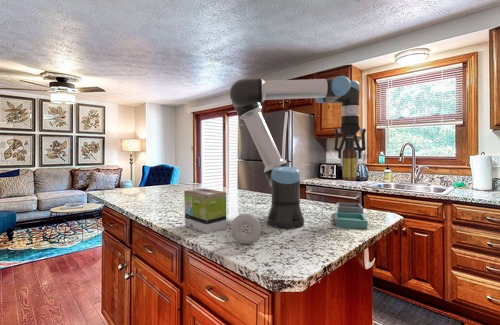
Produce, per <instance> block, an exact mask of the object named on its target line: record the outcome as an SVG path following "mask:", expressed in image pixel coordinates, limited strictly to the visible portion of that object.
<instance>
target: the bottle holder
mask: <svg viewBox="0 0 500 325" xmlns="http://www.w3.org/2000/svg"><path fill="white" fill-rule="evenodd" d="M336 212H340V213H358V214H363V215H364V207H363V206H362V204H361V203H353V202H352V203H350V202H336Z"/></svg>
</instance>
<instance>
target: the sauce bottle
mask: <svg viewBox="0 0 500 325" xmlns="http://www.w3.org/2000/svg"><path fill="white" fill-rule="evenodd" d="M354 143H355V141H354V138H353V137H346V139H345V142H344V145H345V146H344V148H343V150H342V152H343V166H341V167H342V169H341V170H342V171H341V172H342V180H343V181H345V182H355V181H357V177H358V176H357V174H358V173H357V171H358V170H357V169H358V166H356V161H357V158H356V152H357V151H356V149H355V144H354Z"/></svg>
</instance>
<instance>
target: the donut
mask: <svg viewBox="0 0 500 325" xmlns="http://www.w3.org/2000/svg"><path fill="white" fill-rule="evenodd" d="M244 225H248V226H249V227H250V232H248V233H245V232H243V231H242V227H243V226H244ZM230 226H231V227H230V231H231V235H232V237H233V239H234V240H235V241H236V242H237V243H240V244H241V245H251V244H254V243H255V242H256V241H257V240H259V238H260V237H261V234H262V229H263V228H262V224H261V222H260V220H259V219H258V218H257V217H256V216H255V215H253V214H250V213H242V214H239V215H238V216H236V217H235V218H234V219H233V221H232V223H231V224H230Z"/></svg>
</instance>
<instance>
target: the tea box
mask: <svg viewBox="0 0 500 325" xmlns="http://www.w3.org/2000/svg"><path fill="white" fill-rule="evenodd" d="M183 191H184V192H183V193H184V196H183V198H184V226H185V227H188V228H191V229H192V230H196V231H199V232H201V233H204V234H206V233H209V234H211V233H210V232H212V233H215V232H214V231H216V232H219V231H222V230H224V229H227V192H226V191H221V190H216V189H210V188H204V187H203V188H196V189H188V190H183ZM221 229H222V230H221ZM218 230H219V231H218Z"/></svg>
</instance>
